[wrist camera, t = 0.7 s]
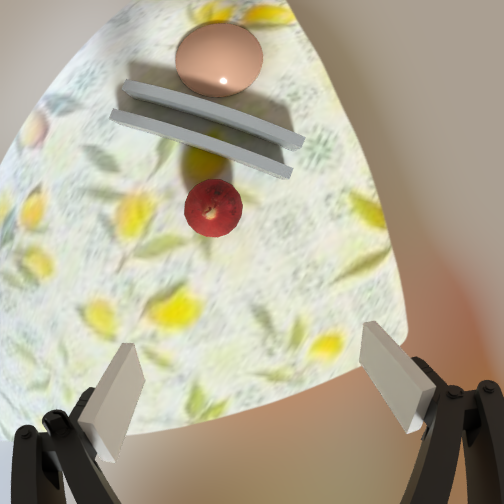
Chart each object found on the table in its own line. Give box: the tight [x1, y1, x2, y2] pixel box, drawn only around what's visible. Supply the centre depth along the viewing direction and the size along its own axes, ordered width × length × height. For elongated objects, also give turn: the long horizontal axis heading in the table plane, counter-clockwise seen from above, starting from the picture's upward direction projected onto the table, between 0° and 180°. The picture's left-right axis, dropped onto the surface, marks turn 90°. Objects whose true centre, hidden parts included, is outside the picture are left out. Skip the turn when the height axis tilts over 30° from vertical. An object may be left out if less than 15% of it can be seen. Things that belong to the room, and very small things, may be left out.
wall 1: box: [109, 109, 293, 179], centre depth 29 cm, size 20×1×4 cm, turn 69°
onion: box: [184, 179, 243, 237], centre depth 29 cm, size 6×6×8 cm
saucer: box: [175, 23, 263, 97], centre depth 28 cm, size 10×10×1 cm
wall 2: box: [122, 79, 305, 151], centre depth 28 cm, size 20×1×4 cm, turn 69°
